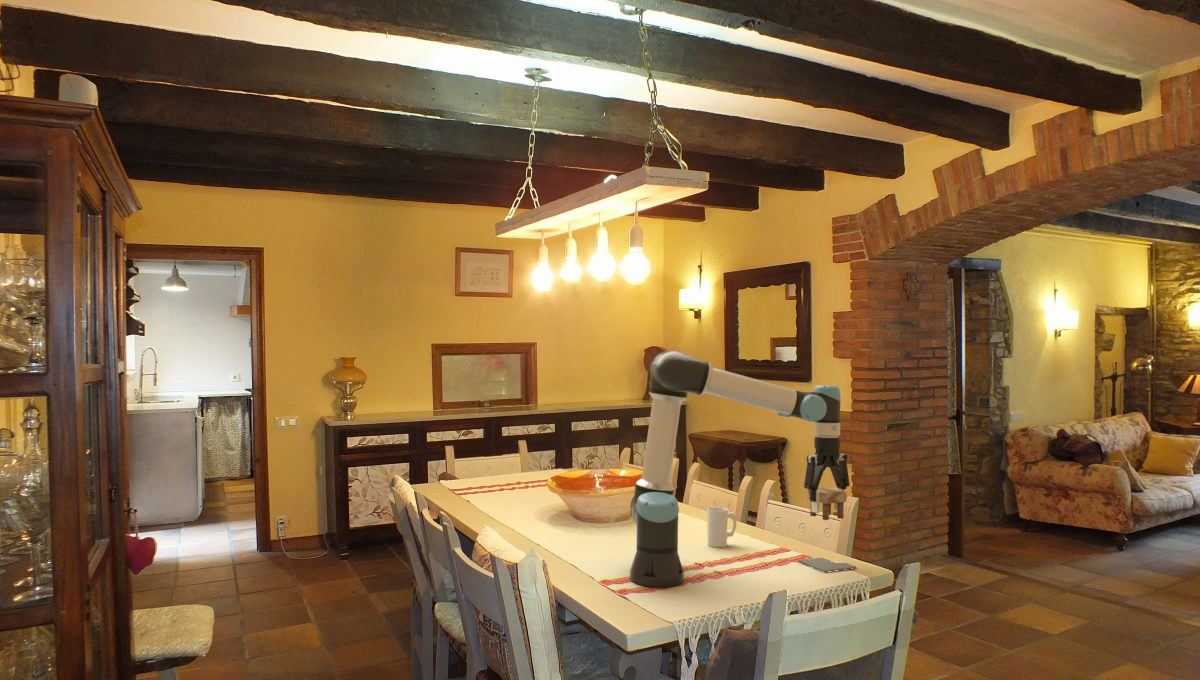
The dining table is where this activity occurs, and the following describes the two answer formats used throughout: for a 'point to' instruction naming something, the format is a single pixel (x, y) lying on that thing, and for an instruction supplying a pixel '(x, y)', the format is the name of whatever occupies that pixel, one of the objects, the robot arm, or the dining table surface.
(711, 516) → the mug
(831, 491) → the stool
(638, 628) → the dining table surface
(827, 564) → the mat
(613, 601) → the dining table surface
